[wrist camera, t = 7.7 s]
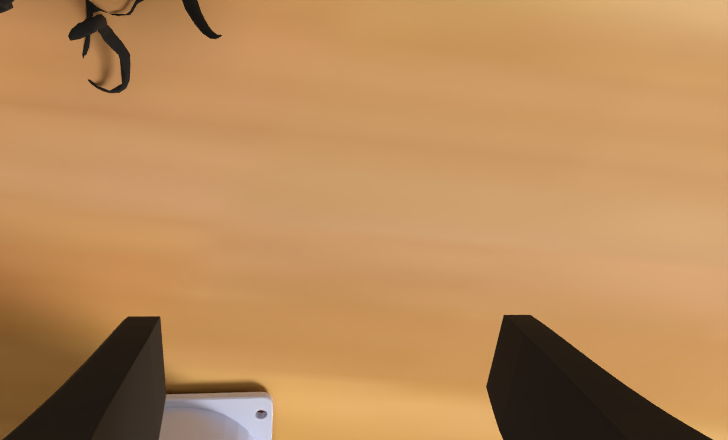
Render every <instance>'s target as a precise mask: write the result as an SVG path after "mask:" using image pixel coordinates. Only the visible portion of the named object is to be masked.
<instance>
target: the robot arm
mask: <svg viewBox="0 0 728 440" xmlns="http://www.w3.org/2000/svg"><path fill="white" fill-rule="evenodd" d="M486 388H487V391H488V395H489V398H490V402H491V405H492V409H493V412H494V415H495V418H496V422H497V425H498V428H499V431H500V433H501V435H502V438H503V440H713V439H711V438H709V437H707V436H705V435H704V434H702V433H700V432H699V431H697V430H695V429H693V428H692V427H690V426H688V425H687V424H685V423H683V422H682V421H680V420H678V419H676V418H675V417H673V416H671V415H670V414H668V413H667V412H665V411H663V410H662V409H660V408H659V407H657V406H656V405H654V404H653V403H651V402H650V401H648V400H647V399H645V398H644V397H642V396H641V395H639V394H638V393H636V392H635V391H633V390H632V389H630V388H629V387H628V386H626V385H625V384H623V383H622V382H620V381H619V380H618V379H616V378H615V377H613V376H612V375H611V374H609V373H608V372H607V371H605V370H604V369H602V368H601V367H600V366H598V365H597V364H596V363H594V362H593V361H592V360H590V359H589V358H588V357H586V356H585V355H584V354H582V353H581V352H580V351H579V350H577V349H576V348H575V347H573V346H572V345H571V344H569V343H568V342H567V341H565V340H564V339H563V338H562V337H560V336H559V335H558V334H556V333H555V332H554V331H552V330H551V329H550V328H548V327H547V326H546V325H544V324H543V323H541V322H540V321H539V320H537V319H536V318H534V317H533V316H531V315H504V317H503V321H502V325H501V329H500V333H499V337H498V341H497V345H496V350H495V354H494V358H493V362H492V366H491V370H490V374H489V378H488V382H487V386H486ZM259 410H264V411H265V412H262V413H260V412H257V411H259ZM272 418H273V398H272V396H271V395H270V394H269V393H267V392H233V393H198V394H166V387H165V374H164V360H163V347H162V334H161V321H160V317H127V318H126V319H125V320H124V321H122V322H121V324H120V325H119V326H118V327H117V328H116V329H115V330H114V331H113V332H112V334H111V335H110V336H109V337H108V338H107V339H106V340H105V341H104V342H103V344H102V345H101V346H100V347H99V348H98V349H97V350H96V351H95V352H94V353H93V354H92V355H91V357H90V358H89V359H88V360H87V361H86V362H85V363H84V364H83V365H82V366H81V367H80V368H79V369H78V370H77V371H76V372H75V373H74V374H73V375H72V376H71V377H70V378H69V379H68V380H67V381H66V382H65V383H64V384H63V385H62V386H61V387H60V388H59V389H58V390H57V391H56V392H55V393H54V394H53V395H52V396H51V397H50V398H49V399H48V400H47V401H45V402H44V403H43V404H42V405H41V406H40V407H39V408H38V409H37V410H36V411H35V412H34V413H32V414H31V415H30V416H29V417H28V418H27V419H26V420H25V421H24V422H23V423H22V424H20V425H19V426H18V427H17V428H16V429H15V430H13V431H12V432H11V433H10V434H9V435H8V436H6V437H5V438H4V439H3V440H272Z"/></svg>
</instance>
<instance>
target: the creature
mask: <svg viewBox="0 0 728 440" xmlns="http://www.w3.org/2000/svg"><path fill="white" fill-rule="evenodd" d="M13 1H14V0H0V13H2V12H5V11H7V10H10V9H12V8H13V5H12V2H13ZM141 1H143V0H136V1H135V3H134V5H133V7H132V9H131V11H130V12H129V13H127V14H112V15H116V16H122V15H130V14H131V13H132V12H133V10H134V8H135V7H136V5H137V4H138V3H140V2H141ZM182 1H183V4H184V7H185V9H186V11H187V13H188V14H189V16H190V17H191V19H192V20H193V22H194V24H195V25H196V26H197V27H198V28H199V30H200V31H201V32H202V33H203V34H204V35H206V36H207V37H209V38H211V39H217V38H219V37H221V36H222V35H217V34H216V33H214V32H213V31H212V30H211V29H210V27H209V26H208V24H207V22H206V21H205V19H204V17H203V15H202V13H201V10H200V7H199V4H198V1H197V0H182ZM86 4H87V19H85V20H84V21H83V22H81V23H78V24H77V25H76V26H75V27H74V28H72V29H71V31H70V33H69V35H68V37H69V39H70V41H71V40H77V39H81V38H83V37H86V41H85V45H84V50H83V54H82V55H83V59H84V56H85V55H86V54H87V51H88V49H89V43H90V34H92V33H94V32H96V31H97V30H98V32H99V33H100V34H101V36H102V38H103V39H104V41H105V42H106V43H107V44H108V45H109V46H110V47H111V48H112V49H113V50H114V51H115V52H116V53H117V54H118V55H119V58H120V65H121V76H122V84H121V85H119V86H117V87H116V88H114V89H112V90H110V91H109V90H106V89H104V88H101V87H98V86H96V85H95V84H94V83H93V82H92V81H91V80H88V81H89V82H90V83H91V84H92V85H93V86H95V87H96V88H98V89H100V90H102V91H104V92H108V93H120V92H121V91H123V90H124V89H126V87H127V85H128V83H129V79H130V54H129V52H128V50H127V49H126V47H125V46H124V44H123V43H122V41H121V40H120V39H119V38H118V37H117V36H116V35H115V33H114V32H113V30H112V29H111V28H110V27H109V26H108V25H107V22H106V18H105V17H104V16H103V15H102V14H98V15H96V16H94V17H92V16H93V13H94V12H97V11H103V10H101V9H99V8H97V7H96V6H95V5H94V4H93V3H91V2H90V1H89V0H86ZM103 12H105V11H103ZM106 13H107V12H106ZM109 14H110V13H109Z"/></svg>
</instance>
